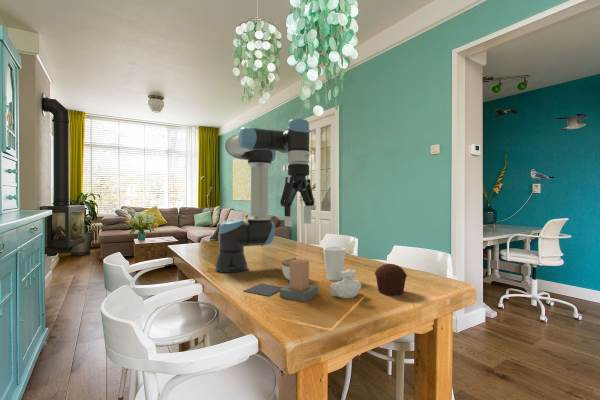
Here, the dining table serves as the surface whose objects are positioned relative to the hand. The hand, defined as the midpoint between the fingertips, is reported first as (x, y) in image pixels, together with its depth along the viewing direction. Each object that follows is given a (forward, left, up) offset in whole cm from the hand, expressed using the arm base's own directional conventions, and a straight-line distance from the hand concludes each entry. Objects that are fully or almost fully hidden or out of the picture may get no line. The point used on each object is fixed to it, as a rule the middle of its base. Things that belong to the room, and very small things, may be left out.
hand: (298, 224), depth 107 cm
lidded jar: (-18, -12, -25) cm, 33 cm away
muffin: (-21, +27, -25) cm, 43 cm away
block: (0, 0, -25) cm, 25 cm away
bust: (-7, +15, -25) cm, 31 cm away
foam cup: (-28, +2, -25) cm, 38 cm away
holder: (0, 0, -25) cm, 25 cm away
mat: (+1, -14, -25) cm, 29 cm away
